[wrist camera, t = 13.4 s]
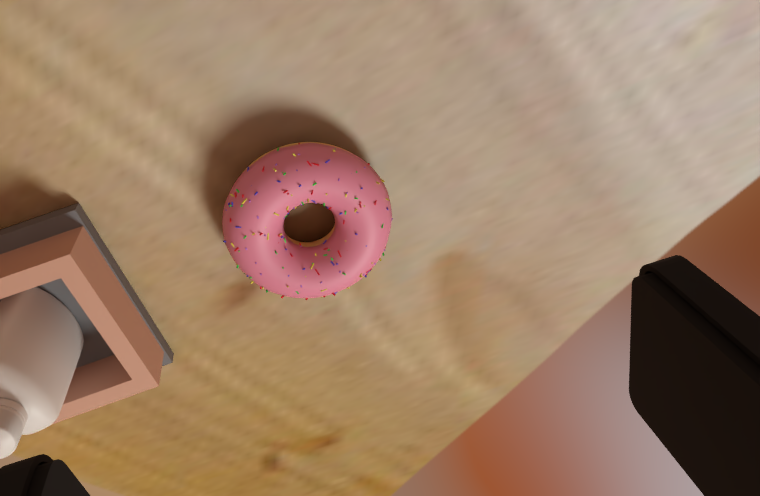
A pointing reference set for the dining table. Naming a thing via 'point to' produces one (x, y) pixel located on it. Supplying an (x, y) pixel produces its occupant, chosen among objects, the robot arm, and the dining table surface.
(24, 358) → the squeeze bottle
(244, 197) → the doughnut
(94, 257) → the socket stand
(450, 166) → the dining table surface
